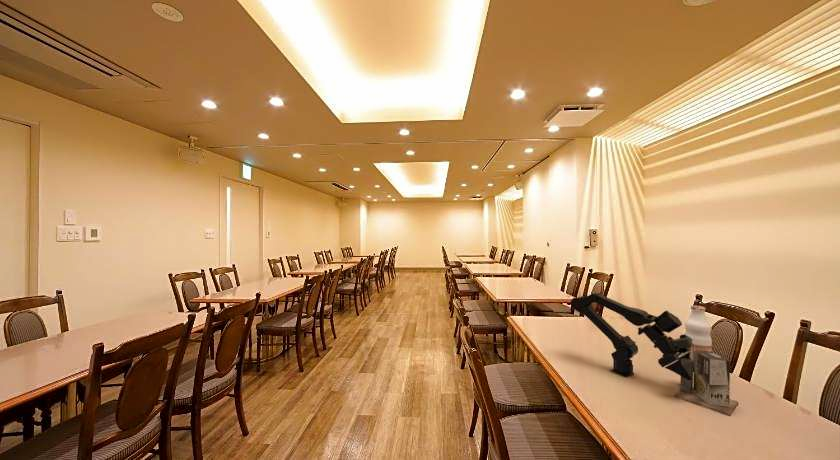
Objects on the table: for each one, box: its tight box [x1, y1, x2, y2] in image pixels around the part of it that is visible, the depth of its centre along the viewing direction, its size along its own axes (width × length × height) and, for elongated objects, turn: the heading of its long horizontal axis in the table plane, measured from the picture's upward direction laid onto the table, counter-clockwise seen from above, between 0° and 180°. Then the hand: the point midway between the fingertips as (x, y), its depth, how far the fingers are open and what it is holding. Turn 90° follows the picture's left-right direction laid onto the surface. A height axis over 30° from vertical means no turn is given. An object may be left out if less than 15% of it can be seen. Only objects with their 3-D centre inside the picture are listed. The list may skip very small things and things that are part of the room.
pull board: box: [674, 358, 739, 417], centre depth 116 cm, size 15×13×13 cm
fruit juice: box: [684, 305, 713, 363], centre depth 143 cm, size 9×9×28 cm
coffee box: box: [693, 351, 731, 407], centre depth 115 cm, size 9×6×16 cm
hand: (694, 376), depth 119 cm, fingers open, 9 cm apart
